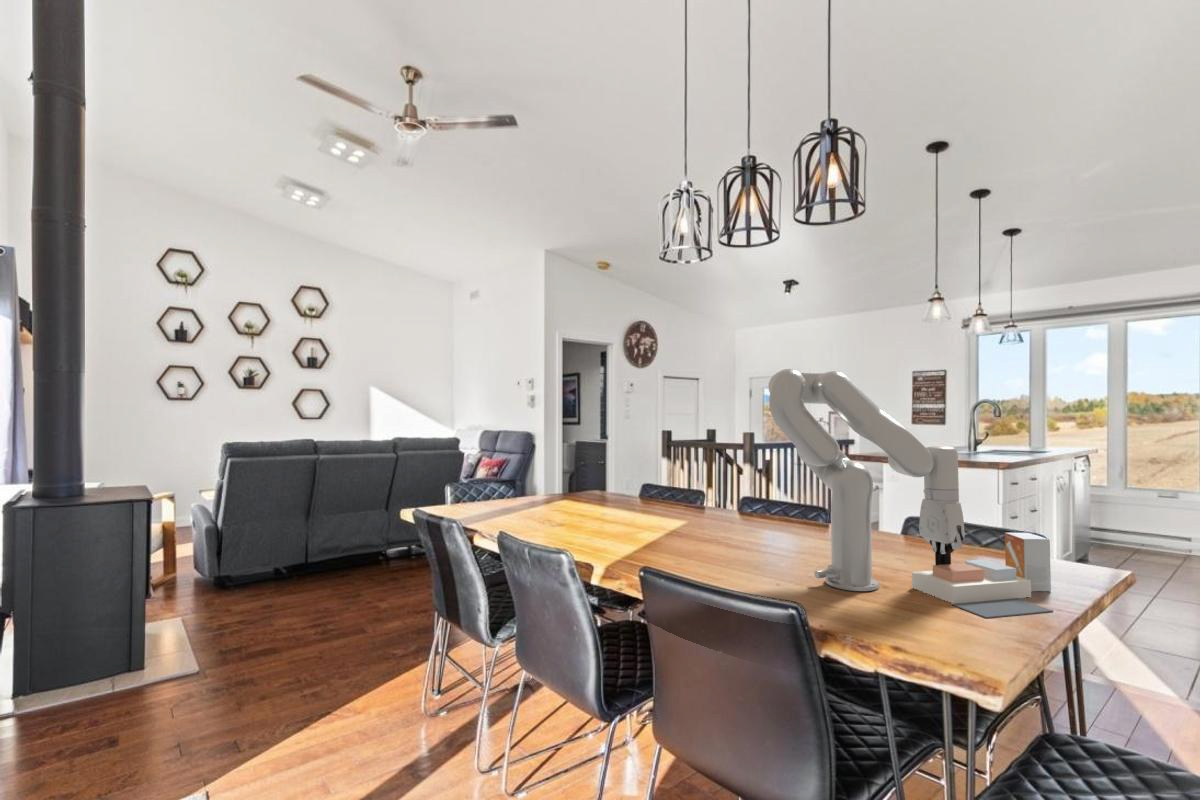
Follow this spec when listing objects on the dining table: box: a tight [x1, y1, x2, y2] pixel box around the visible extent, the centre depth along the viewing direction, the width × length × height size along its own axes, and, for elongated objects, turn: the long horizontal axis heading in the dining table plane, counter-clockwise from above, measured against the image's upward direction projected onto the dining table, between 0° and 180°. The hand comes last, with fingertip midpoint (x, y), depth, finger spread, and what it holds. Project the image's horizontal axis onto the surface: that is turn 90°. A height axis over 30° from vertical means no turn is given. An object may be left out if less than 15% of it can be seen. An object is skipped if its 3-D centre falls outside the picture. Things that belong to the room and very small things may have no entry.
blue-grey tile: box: [964, 558, 1016, 580], centre depth 146 cm, size 9×6×2 cm, turn 13°
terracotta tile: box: [932, 562, 984, 582], centre depth 143 cm, size 9×6×2 cm, turn 103°
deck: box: [911, 570, 1032, 604], centre depth 145 cm, size 22×13×4 cm, turn 103°
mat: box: [951, 598, 1054, 619], centre depth 133 cm, size 18×9×1 cm, turn 103°
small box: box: [1004, 532, 1052, 593], centre depth 149 cm, size 8×6×13 cm
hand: (943, 568), depth 148 cm, fingers closed
